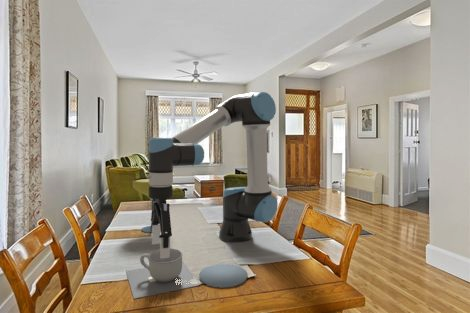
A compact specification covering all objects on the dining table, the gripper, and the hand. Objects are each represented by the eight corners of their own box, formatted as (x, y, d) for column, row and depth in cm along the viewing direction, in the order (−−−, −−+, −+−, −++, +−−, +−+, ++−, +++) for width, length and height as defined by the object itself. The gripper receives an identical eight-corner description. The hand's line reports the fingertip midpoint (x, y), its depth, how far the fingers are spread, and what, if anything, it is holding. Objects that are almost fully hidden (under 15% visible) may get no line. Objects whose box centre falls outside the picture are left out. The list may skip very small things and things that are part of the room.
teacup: (188, 273, 105) (188, 250, 104) (171, 288, 94) (171, 262, 94) (152, 267, 109) (152, 245, 109) (133, 281, 99) (132, 256, 98)
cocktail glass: (166, 235, 146) (165, 182, 144) (127, 234, 146) (127, 182, 144) (174, 224, 164) (174, 177, 162) (140, 224, 164) (139, 176, 162)
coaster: (192, 270, 107) (192, 268, 107) (234, 263, 114) (234, 261, 114) (209, 292, 93) (209, 289, 93) (255, 281, 100) (255, 279, 100)
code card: (126, 271, 107) (126, 270, 107) (182, 261, 115) (182, 261, 115) (133, 299, 89) (133, 298, 89) (200, 285, 97) (200, 284, 97)
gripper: (142, 180, 110) (142, 240, 111) (156, 192, 87) (156, 266, 88) (163, 180, 113) (163, 237, 114) (182, 190, 90) (182, 262, 91)
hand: (160, 250), depth 101 cm, fingers open, 13 cm apart
